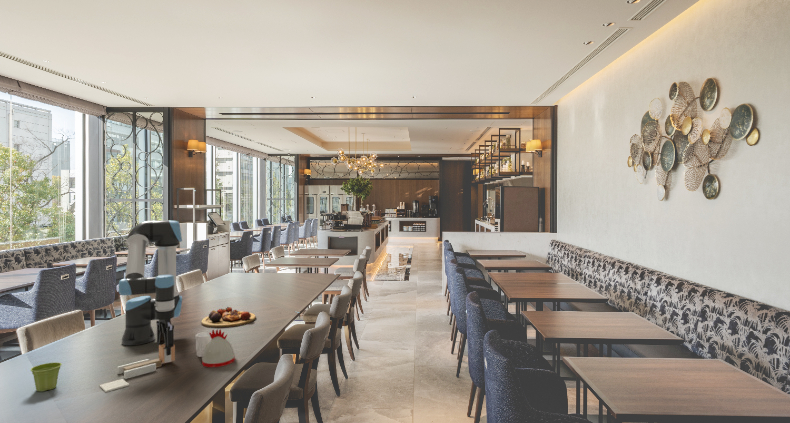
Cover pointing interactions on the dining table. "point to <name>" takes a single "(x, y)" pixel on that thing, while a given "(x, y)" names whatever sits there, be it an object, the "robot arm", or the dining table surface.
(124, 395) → the dining table surface
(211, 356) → the white chicken figurine
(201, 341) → the white cup
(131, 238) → the robot arm
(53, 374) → the plant pot
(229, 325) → the wooden plate with food
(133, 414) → the dining table surface
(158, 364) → the rod
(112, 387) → the coaster
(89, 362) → the dining table surface
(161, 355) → the block
